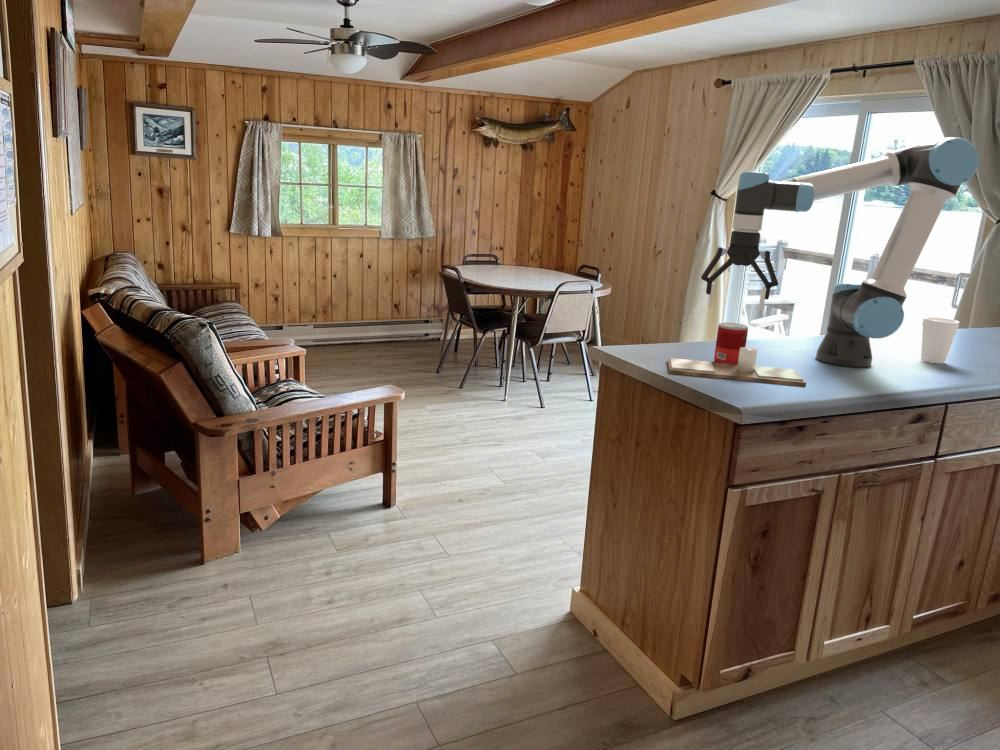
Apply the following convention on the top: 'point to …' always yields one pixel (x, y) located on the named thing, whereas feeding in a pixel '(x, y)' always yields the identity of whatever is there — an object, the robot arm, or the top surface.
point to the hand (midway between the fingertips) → (735, 308)
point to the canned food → (730, 342)
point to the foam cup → (937, 338)
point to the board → (734, 372)
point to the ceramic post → (747, 360)
